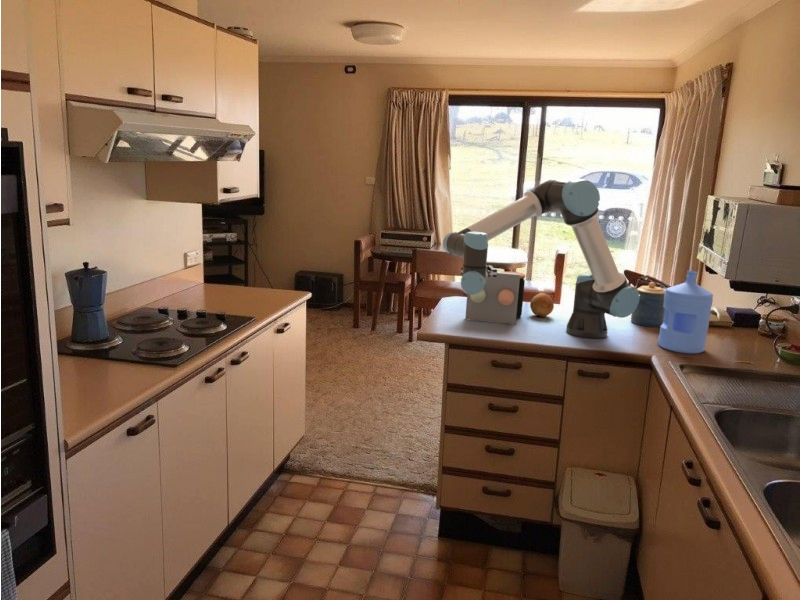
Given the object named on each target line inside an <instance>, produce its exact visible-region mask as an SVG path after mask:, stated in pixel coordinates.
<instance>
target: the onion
mask: <svg viewBox="0 0 800 600" xmlns="http://www.w3.org/2000/svg"><path fill="white" fill-rule="evenodd" d="M554 305H555V304H554V301H553V299H552V297H551V296H550V295H549V294H547V293H545V292H539V293H537V294H536V295H534V296H533V297H532V299H531V300H530V303H529V308H530V310H531V312H532V314H533V315H535V316H539V317H541V318H545V317H547V316H549V315H550V314H551V313H552V312H553V311H554V308H555V306H554Z"/></svg>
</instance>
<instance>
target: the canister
mask: <svg viewBox="0 0 800 600" xmlns="http://www.w3.org/2000/svg"><path fill="white" fill-rule="evenodd" d="M636 289H637V291H638V293H639V303H638V305H637V308H636V309H635V311H634V312H633V313H632V314H631V315H630V322H631V323H632V324H634V325H638V326H642V327H647V328H648V327H650V328H659V327H660V326H661V325H662V324H663V322H664V315H665V308H664V307H663V305H664V295H665V292H666V290H664V289H663V287H658V286H656V282H653V281H650V282H649V283H648V285H641V286H639V287H637V288H636Z"/></svg>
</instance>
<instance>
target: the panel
mask: <svg viewBox="0 0 800 600" xmlns="http://www.w3.org/2000/svg"><path fill="white" fill-rule="evenodd" d="M505 272H506V271H497V277H493V276H490V277H488V279H487V281H486V284H485V287H484V290H485V293H486V296H485V299H484V300H483V301H482V302H480V303H476V302H473V301H472V300H471V298H470V294H468V293H466V302H465V303H466V306H465V320H467V319H470V320H469V321H476V320H478V321H477V322H486V321H487V322H488V323H498V324H506V323H508V325H516V324H515V323H516V322H517V318H516V314H517V303H518V292H519V281H520V274H517V273H505ZM505 289H507V290H510V291H511V292H512V293H513V295H514V299H513V302H512V303H511V304H510V305H502V304H501V303H500V302H499V300H498V295H499V293H500V292H501V291H502V290H505Z"/></svg>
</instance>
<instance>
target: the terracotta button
mask: <svg viewBox="0 0 800 600" xmlns="http://www.w3.org/2000/svg"><path fill="white" fill-rule="evenodd" d="M513 299H514V295H513V293H512V292H511V291H510V290H507V289H505V290H502V291H501V292H500V293H499V295H498V300H499V302H500V303H501V304H502V305H510V304H511V303H512V302H513Z"/></svg>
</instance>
